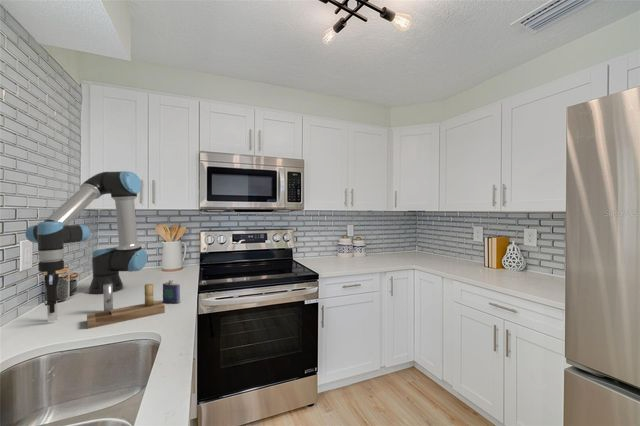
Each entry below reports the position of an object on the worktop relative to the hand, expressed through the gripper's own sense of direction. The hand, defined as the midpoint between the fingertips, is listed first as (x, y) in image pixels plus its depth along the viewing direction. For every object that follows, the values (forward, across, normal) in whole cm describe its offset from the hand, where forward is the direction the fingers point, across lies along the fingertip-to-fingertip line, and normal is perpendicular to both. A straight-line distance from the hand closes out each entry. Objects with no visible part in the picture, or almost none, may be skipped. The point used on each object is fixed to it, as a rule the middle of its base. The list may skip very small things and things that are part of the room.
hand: (52, 319), depth 118 cm
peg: (+1, +1, +18) cm, 18 cm away
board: (+1, +14, +24) cm, 27 cm away
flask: (+1, +5, +42) cm, 42 cm away
